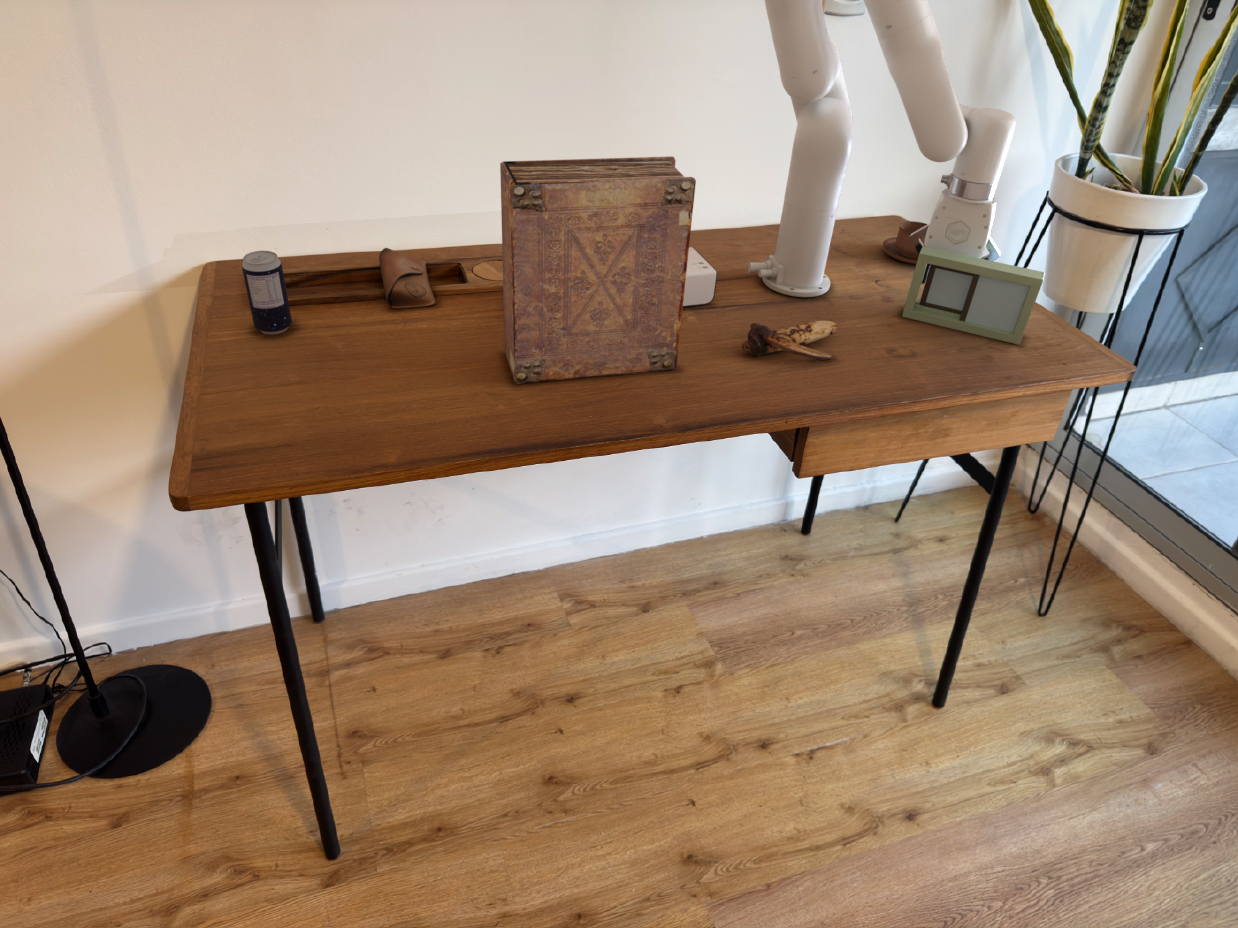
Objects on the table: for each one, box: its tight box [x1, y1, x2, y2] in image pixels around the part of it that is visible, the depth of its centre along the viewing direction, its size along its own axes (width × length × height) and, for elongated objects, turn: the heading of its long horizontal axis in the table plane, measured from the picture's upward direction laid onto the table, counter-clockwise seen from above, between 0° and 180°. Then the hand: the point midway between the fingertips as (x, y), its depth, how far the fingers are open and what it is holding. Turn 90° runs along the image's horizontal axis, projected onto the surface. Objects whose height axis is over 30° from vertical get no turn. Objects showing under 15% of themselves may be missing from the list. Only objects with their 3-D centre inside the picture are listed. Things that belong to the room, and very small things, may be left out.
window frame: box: [901, 246, 1045, 346], centre depth 152 cm, size 20×4×12 cm, turn 65°
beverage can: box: [241, 250, 293, 335], centre depth 136 cm, size 6×6×12 cm
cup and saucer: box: [882, 220, 928, 265], centre depth 177 cm, size 12×12×6 cm
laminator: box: [683, 246, 719, 308], centre depth 154 cm, size 34×12×6 cm, turn 109°
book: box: [499, 155, 697, 385], centre depth 128 cm, size 25×9×30 cm, turn 106°
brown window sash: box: [919, 264, 974, 315], centre depth 156 cm, size 9×7×8 cm
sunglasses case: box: [378, 247, 437, 310], centre depth 154 cm, size 18×7×7 cm, turn 17°
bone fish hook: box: [741, 319, 838, 361], centre depth 143 cm, size 9×5×18 cm
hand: (942, 284), depth 160 cm, fingers open, 6 cm apart
